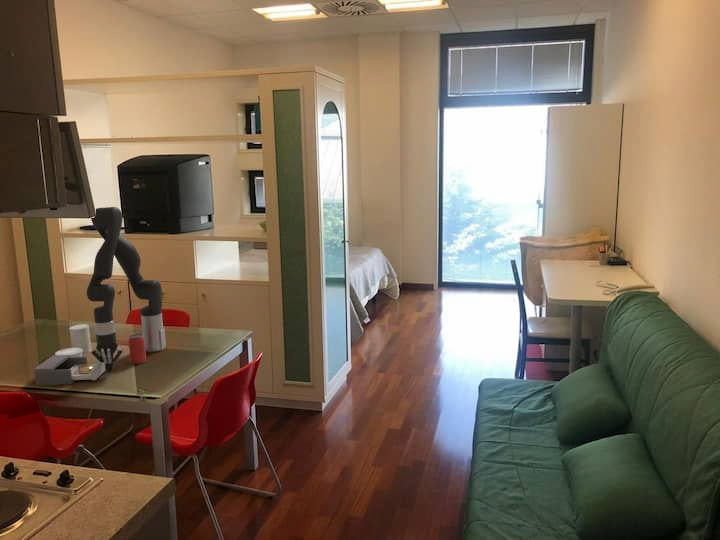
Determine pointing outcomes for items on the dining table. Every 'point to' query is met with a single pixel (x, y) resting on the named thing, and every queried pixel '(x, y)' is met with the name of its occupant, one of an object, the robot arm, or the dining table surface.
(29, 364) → the dining table surface
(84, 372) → the disc
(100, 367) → the tray
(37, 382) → the housing
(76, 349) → the ramekin
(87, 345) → the cup
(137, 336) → the beer can
